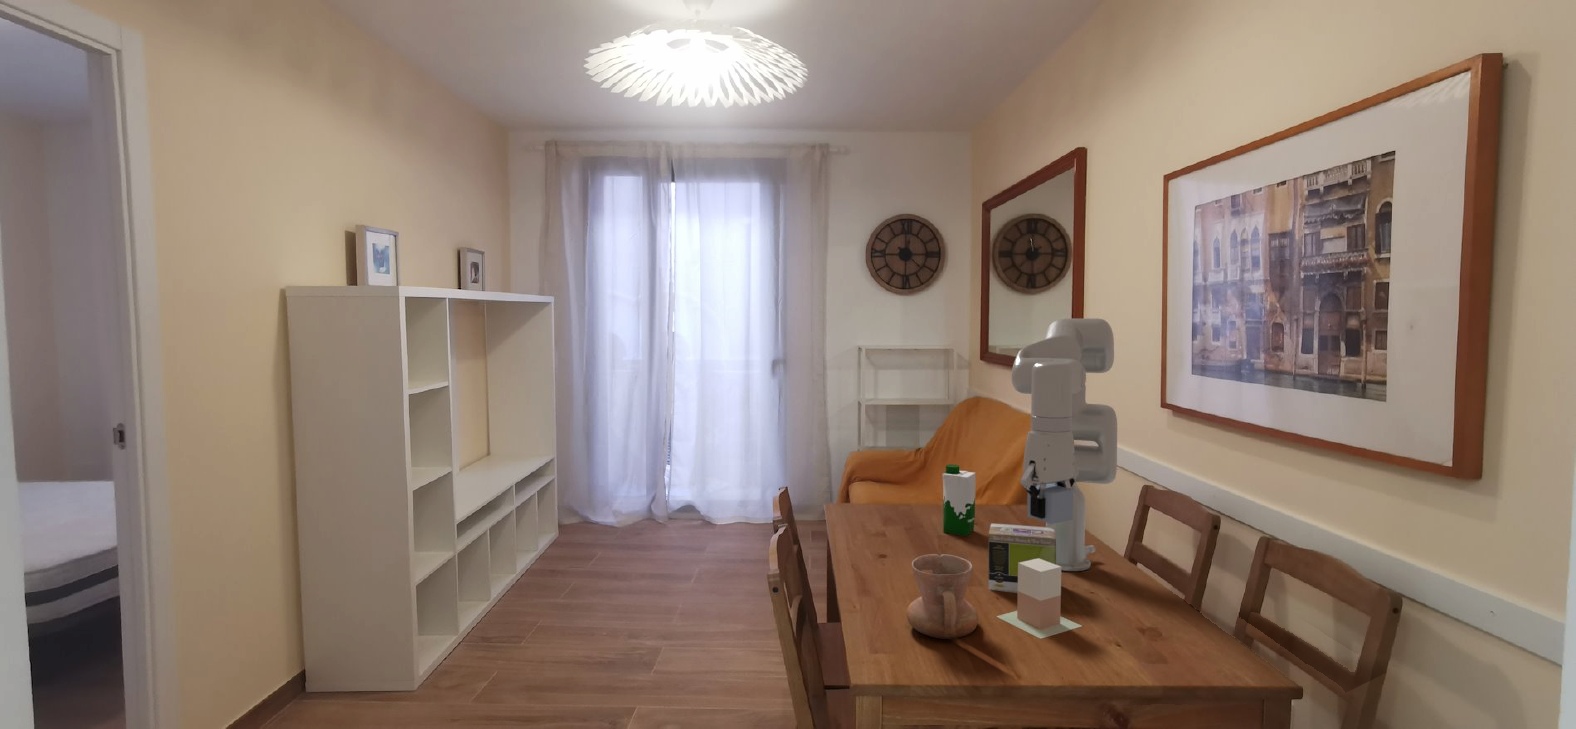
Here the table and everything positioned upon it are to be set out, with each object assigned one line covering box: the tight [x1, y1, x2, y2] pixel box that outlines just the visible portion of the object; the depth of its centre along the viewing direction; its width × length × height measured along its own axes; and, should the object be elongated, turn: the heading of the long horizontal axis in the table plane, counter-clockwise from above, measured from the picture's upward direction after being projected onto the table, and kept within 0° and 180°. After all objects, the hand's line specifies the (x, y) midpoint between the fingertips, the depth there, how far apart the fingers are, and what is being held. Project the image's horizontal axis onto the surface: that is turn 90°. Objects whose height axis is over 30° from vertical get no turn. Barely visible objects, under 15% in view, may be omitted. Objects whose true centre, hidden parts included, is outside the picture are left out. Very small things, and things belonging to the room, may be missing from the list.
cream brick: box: [1018, 558, 1062, 601], centre depth 147 cm, size 6×6×6 cm
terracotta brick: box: [1016, 591, 1062, 630], centre depth 147 cm, size 6×6×6 cm
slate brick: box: [1026, 484, 1073, 524], centre depth 140 cm, size 6×6×6 cm
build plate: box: [995, 610, 1083, 640], centre depth 147 cm, size 12×12×1 cm
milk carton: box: [942, 464, 976, 537], centre depth 213 cm, size 9×9×20 cm
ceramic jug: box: [906, 553, 979, 640], centre depth 145 cm, size 18×14×14 cm
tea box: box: [987, 522, 1056, 594], centre depth 167 cm, size 15×10×15 cm
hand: (1049, 513), depth 140 cm, fingers closed on slate brick, 6 cm apart
